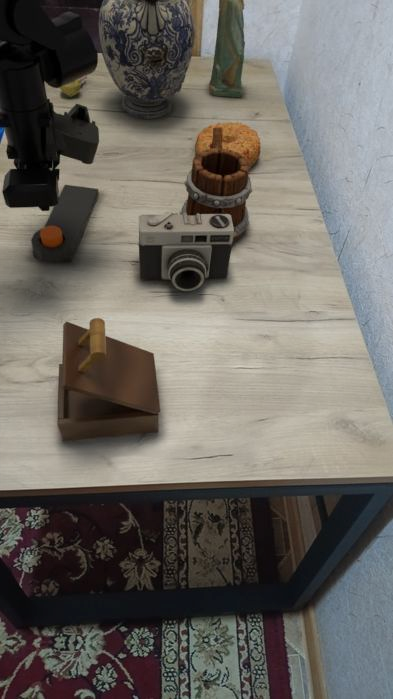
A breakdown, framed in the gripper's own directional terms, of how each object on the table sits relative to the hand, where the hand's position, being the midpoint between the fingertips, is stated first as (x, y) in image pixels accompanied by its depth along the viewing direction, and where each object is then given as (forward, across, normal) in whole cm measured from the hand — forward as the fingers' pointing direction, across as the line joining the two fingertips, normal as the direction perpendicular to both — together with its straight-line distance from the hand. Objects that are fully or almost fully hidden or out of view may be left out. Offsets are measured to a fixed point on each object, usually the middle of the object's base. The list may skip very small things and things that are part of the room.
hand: (45, 209), depth 71 cm
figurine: (+9, +57, -2) cm, 58 cm away
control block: (+9, +7, -2) cm, 11 cm away
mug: (+9, +7, -26) cm, 29 cm away
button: (+6, 0, 0) cm, 6 cm away
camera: (+9, -7, -19) cm, 22 cm away
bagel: (+9, +26, -32) cm, 43 cm away
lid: (+1, -29, -8) cm, 30 cm away
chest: (+8, -29, -7) cm, 31 cm away
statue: (+9, +53, -37) cm, 66 cm away
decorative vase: (+9, +46, -18) cm, 51 cm away
